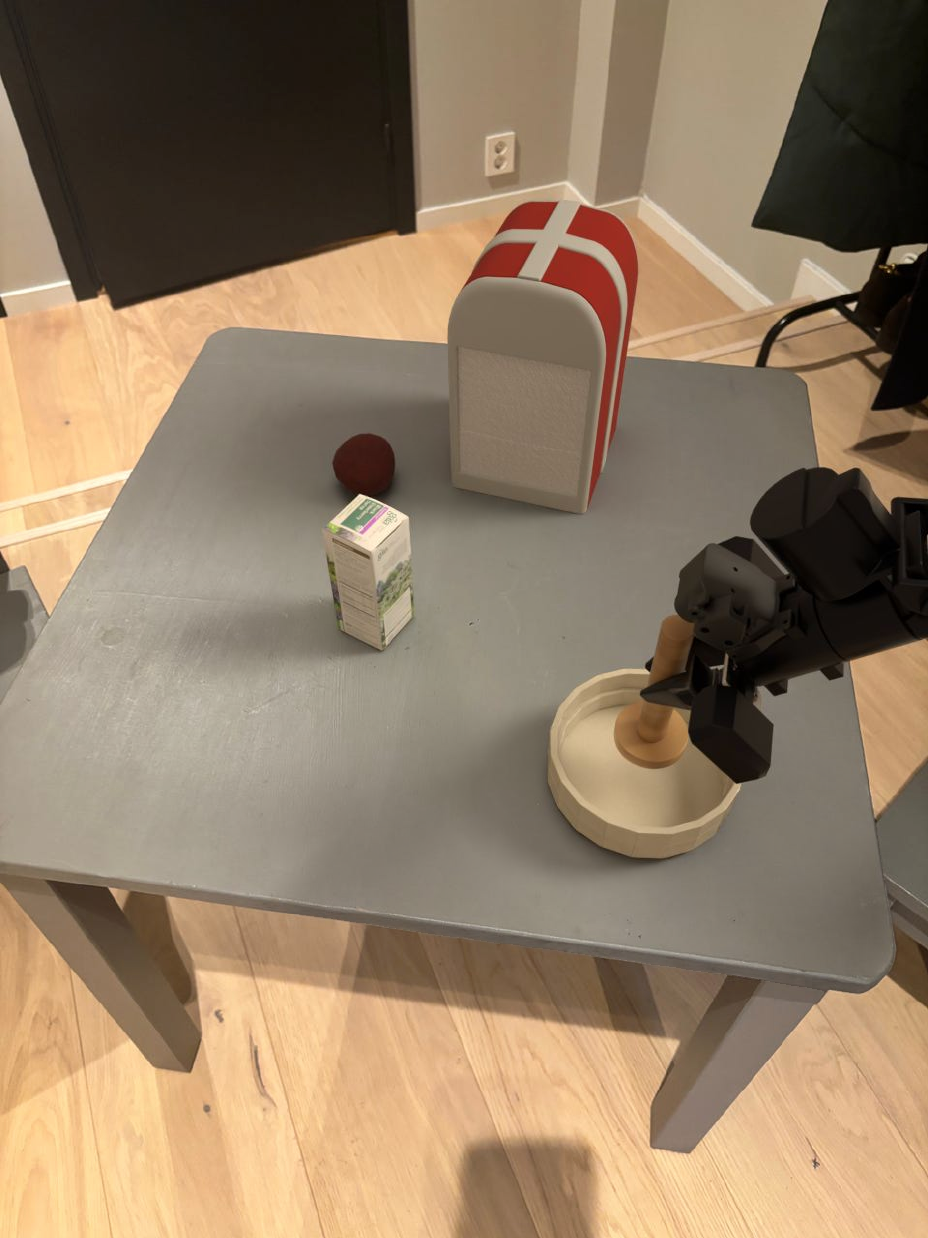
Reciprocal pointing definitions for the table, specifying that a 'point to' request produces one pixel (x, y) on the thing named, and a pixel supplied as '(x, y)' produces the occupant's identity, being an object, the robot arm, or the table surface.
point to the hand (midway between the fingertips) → (645, 682)
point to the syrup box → (370, 570)
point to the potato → (364, 464)
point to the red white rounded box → (541, 354)
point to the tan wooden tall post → (657, 705)
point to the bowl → (630, 777)
